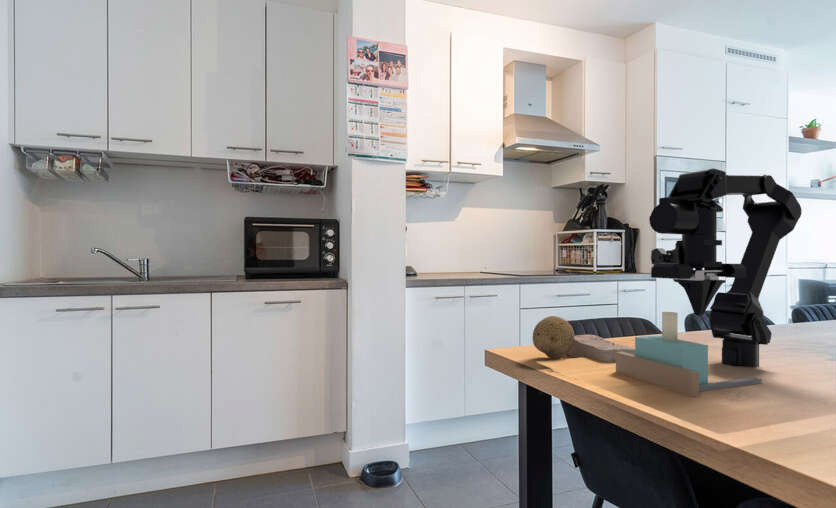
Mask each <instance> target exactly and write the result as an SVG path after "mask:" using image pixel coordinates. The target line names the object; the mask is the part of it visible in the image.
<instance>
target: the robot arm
mask: <svg viewBox="0 0 836 508" xmlns="http://www.w3.org/2000/svg"><path fill="white" fill-rule="evenodd" d="M738 195H739V196H741V195H742V197H743V198H744V199H743V205H742V210H743V212H744V213H745V214H746V216H747V224H748V226H749V229H750V231H751V233H750V234H751V235H750V237H749V239H748V242H747V245H746V248H745V250H744V253H743V256H742V258H741V261H740V263H726V262H725V263H724V262H722V261H717V246H723V240H722V239H717V227H718V226H717V224H718V223H717V213H722V212H723V211H724V209H723V207H722V206H721V205H720V204H718V203H717V202H716V200H715V199H720V198H722V197H726V196H738ZM758 195H766V196H767V197H768V198H770V199H769V200H767V199H766V200H758V201H755V200H754V199H753V196H758ZM801 217H802V206H801V205H800V203H799V200H797V198H796V197H795V195H794V193H793V192H792V191H791V190H788V189H787V188H786V187H783V186H782V185H780V184H778V183H777V182H776V180H775V179H774V177H773V176H772V175H770V174H769V175H768V174H760V175H739V174H738V175H732V174H731V175H730V174H727V173H726V171H724V170H721V169H719V168H708V169H707V168H706V169H702V170H696V171H691V172H690V171H689V172H684V173H681V174H679V175H678V179H677V180H676V182H675V184H674V185H673V187H672V190H671V191H670V193H669V194H668V196H666V197H660V198H659V199H658V205H655V207H654V208H653V209H652V211H651V214H650V215H649V220H648V221H649V225H650V227H651V229H652V230H653V231H654V232H656V233H657V234H662V235H663V234H665V235H681V239H680V240H676V242H675V246H674V247H675V248H674V249H672V250H665V249H664V248H663V247H662V248H658V247H657V248H654V249H652V250H651V253H650V254H651V255H650V259H651V260H650V261H651V265H652V266H651V268H650V277H651V279H652V278H653V279H654V278H655V279H669V280H670V279H672V281H673V283H677V284H679V285H680V286H681V287H682V288H683V289H684V291H685V293H686V296H687V298H688V300H689V301H688V302H689V303H690V306H691V309H692V311H693V313H694V316H698V317H699V316H703V315H704V314H705V312H706V310H707V309H708V307H709V305H710V303H711V302H712V304H711V306H710V307H709V310H710V312H709V314H708V322H709V326H710V330H711V334H712V337H713V338H715V339H722V342H721V343H722V346H721V364H722V365H727V366H731V367H742V368H743V367H744V368H755V367H758V368H759V367H760V345H764V346H765V345H769V344H770V343H771V339H772V331H771V329H770V328H769V326H768V325H767V323H766V322H765V320H764V319H763V316H764V311H763V307H762V306H761V303H760V301H759V298H760V295H761V293H762V289H763V287H764V284H765V280H766V278H767V276H768V273H769V269H770V268H771V265H772V262H773V259H774V256H775V254H776V251H777V248H778V245H779V244H780V243H779V242H781V241H780V240H782V239H783V238H784V237H786V236H787V235H789V234H790V233H791V232H793V231H794V229H795V227H796V225H797V224H798V222H799V220H800V218H801ZM719 278H734V279H733V282H732V284H731V288H730V289H729V290H728V291H726V292H722V291H721V292H718V291H719V289H720V288H721V287H722V285H723V284H726V281H727V280H726V279H719ZM713 298H714V300H713ZM712 300H713V301H712Z"/></svg>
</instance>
